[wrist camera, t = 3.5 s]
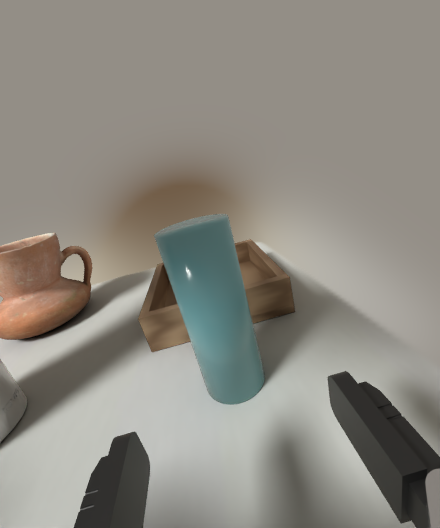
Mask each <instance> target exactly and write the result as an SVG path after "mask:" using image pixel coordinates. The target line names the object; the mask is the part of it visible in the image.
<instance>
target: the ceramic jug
mask: <svg viewBox="0 0 440 528" xmlns="http://www.w3.org/2000/svg"><path fill="white" fill-rule="evenodd" d="M72 254H78V255H80V257H81V258H82V260H83V262H84V268H85V269H84V270H85V271H84V281H83V282H81V281H77V280H72V279H67V278H64V277H62V276H61V273H60V272H61V265H62V264H63V263H64V261H65V260H66V258H67V257H68V256H70V255H72ZM91 273H92V262H91V258H90V256H89V254H88V252H87V251H86V250H85V249H83V248H81V247H79V246H70V247H68V248H66V249H64V250H63V251H62V252H61V251H60V246H59V241H58V238H57V236H56V233H47V234H44V235H38V236H35V237H31V238H26V239H23V240H20V241H15V242H12V243H9V244H5V245H2V246H0V296H1V297H3V300H2V302H1V304H0V338H2V339H8V340H16V339H24V338H29V337H33V336H37V335H40V334H43V333H45V332H48V331H50V330H52V329H54V328H57V327H59V326H60V325H62V324H64V323H66V322H67V321H69V320H70V319H72V318H73V317H74V316H75V315H77V314H78V313H79V312H80V311H81V310H82V309H83V308H84V307H85V306H86V304H87V303H88V301H89V299H90V294H91V292H90V291H91V284H90V278H91Z"/></svg>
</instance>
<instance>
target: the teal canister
mask: <svg viewBox="0 0 440 528" xmlns="http://www.w3.org/2000/svg"><path fill="white" fill-rule="evenodd" d="M154 237H155V240H156V242H157V245H158V248H159V251H160V254H161V257H162V260H163V263H164V266H165V269H166V271H167V274H168V277H169V280H170V283H171V286H172V289H173V292H174V295H175V298H176V300H177V303H178V306H179V309H180V312H181V315H182V318H183V321H184V324H185V326H186V329H187V332H188V335H189V338H190V341H191V344H192V347H193V350H194V353H195V355H196V358H197V361H198V364H199V367H200V370H201V373H202V376H203V379H204V382H205V384H206V387H207V390H208V393H209V394H210V396H211V397H212V398H213V399H214V400H216V401H218V402H220V403H223V404H239V403H242V402H245V401H247V400H249V399H251V398H252V397H254V396H255V395H256V394H257V393H258V392H259V390H260V389H261V387H262V386H263V383H264V379H265V375H264V369H263V365H262V361H261V356H260V352H259V348H258V343H257V339H256V335H255V330H254V326H253V322H252V317H251V313H250V309H249V304H248V300H247V296H246V291H245V287H244V283H243V278H242V274H241V270H240V265H239V261H238V257H237V253H236V248H235V244H234V240H233V235H232V231H231V227H230V223H229V218H228V215H226V214H215V215H207V216H202V217H198V218H194V219H190V220H186V221H183V222H180V223H177V224H174V225H171V226H169V227H166V228H164V229H162V230H160V231H159V232H157V233H156V234H155V235H154Z"/></svg>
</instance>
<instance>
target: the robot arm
mask: <svg viewBox="0 0 440 528" xmlns="http://www.w3.org/2000/svg"><path fill="white" fill-rule="evenodd" d="M328 387H329V395H330V403H331V407H332V410H333V412H334V415H335V417H336V418H337V420H338V422H339V423H340V425H341V427H342V428H343V430H344V432H345V433H346V435H347V437H348V438H349V440H350V441H351V443H352V445H353V446H354V448H355V450H356V451H357V453H358V454H359V456H360V458H361V459H362V461H363V463H364V464H365V466H366V467H367V469H368V471H369V472H370V474H371V476H372V477H373V479H374V480H375V482H376V484H377V485H378V487H379V489H380V490H381V492H382V494H383V495H384V497H385V498H386V500H387V502H388V503H389V505H390V507H391V508H392V510H393V511H394V513H395V515H396V516H397V518H398V520H399V521H400V523H404V522H408V521H411V520H412V522H413V523H414V525H415V527H416V528H440V457H439V456H438V455H437V453H436V452H435V451H434V450H433V449H432V448H431V447H430V446H429V445H428V443H427V442H426V441H425V440H424V439H423V438H422V437H421V436H420V435H419V433H418V432H417V431H416V430H415V429H414V428H413V427H412V426H411V425H410V423H409V422H408V421H407V420H406V419H405V418H404V417H402V415H401V413H400V412H399V411H398V410H397V409H396V408H395V407H394V406H392V404H391V402H390V401H389V400H388V399H387V398H386V397H385V396H384V395H383V393H382V392H381V391H380V390H378V389H377V388H375V387H373V386H372V385H370V384H369V383H367V382H362V383H359V384H358V383H357V382H356V381H355V380H354V379H353V377H352V376H351V375H350V374H349V373H348V372H346V371H345V372H341V373H338V374H334V375H331V376H328ZM26 406H27V398H26V396H25V394H24V393H23V392H22V390H21V389H20V387H19V386H18V384H17V383H16V381H15V380H14V379H13V377H12V376H11V374H10V373H9V371H8V370H7V368H6V367H5V365H4V364H3V362H2V361H1V359H0V442H1V441H2V440H3V439H4V438H5V437H6V436H7V435H8V434H9V433H10V432H11V431H12V429H13V428H14V427H15V425H16V424H17V423H18V422H19V420H20V418H21V417H22V415H23V413H24V411H25V409H26ZM149 476H150V462H149V457H148V455H147V453H146V451H145V449H144V447H143V445H142V443H141V441H140V439H139V437H138V435H137V434H136V432H131V433H128V434H124V435H121V436H117V437H115V438H114V439H113V441H112V444H111V447H110V451H109V454H108V456H105V457H102V458H101V459H100V461H99V463H98V464H97V466H96V467H95V469H94V471H93V472H92V474H91V477H90V480H89V483H88V486H87V489H86V492H85V493H86V494H85V496H84V498H83V501H82V504H81V507H80V512H79V513H78V516H77V519H76V522H75V525H74V528H143V522H144V514H145V507H146V499H147V491H148V484H149Z"/></svg>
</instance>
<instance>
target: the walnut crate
mask: <svg viewBox="0 0 440 528" xmlns="http://www.w3.org/2000/svg"><path fill="white" fill-rule="evenodd" d="M235 248H236V253H237V257H238V261H239V265H240V270H241V274H242V278H243V283H244V287H245V291H246V296H247V300H248V304H249V309H250V313H251V317H252V322H253V324H254V323H257V322H261V321H264V320H268V319H271V318H275V317H278V316H282V315H285V314H289V313H292V312H295V308H294V302H293V295H292V289H291V283H290V277H289V276H288V275H287V274H286V273H285V272H284V271H283V270H282V269H281V268H280V267H279V266H278V265H277V264H276V263H275V262H274V261H273V260H272V259H271V258H269V257H268V256H267V255H266V254H265V253H264V252H263V251H262V250H261V249H260V248H259V247H258V246H257V245H256V244H255V243H254V242H253V241H252V240H251V239H250V240H246V241H242V242H239V243H235ZM138 320H139V322H140V325H141V327H142V330H143V332H144V334H145V337H146V339H147V342H148V344H149V346H150V349H151V351H152V352H154V351H158V350H161V349H165V348H168V347H172V346H176V345H179V344H183V343H186V342H190V338H189V335H188V332H187V329H186V326H185V324H184V321H183V318H182V315H181V312H180V309H179V306H178V303H177V300H176V298H175V295H174V292H173V289H172V286H171V283H170V280H169V277H168V274H167V271H166V269H165V266H164V263H161V264H158V265H157V267H156V270H155V273H154V276H153V278H152V281H151V284H150V287H149V290H148V293H147V295H146V298H145V301H144V304H143V307H142V310H141V312H140V315H139V318H138Z"/></svg>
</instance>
